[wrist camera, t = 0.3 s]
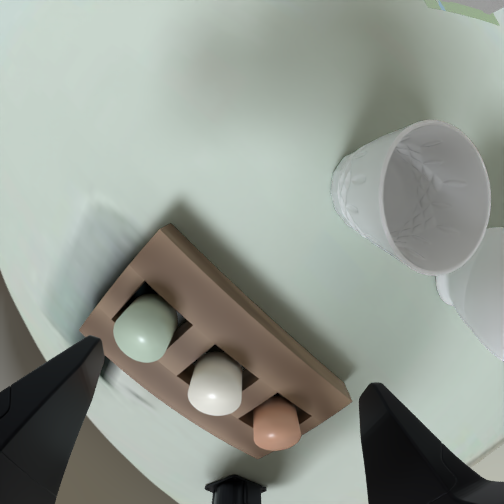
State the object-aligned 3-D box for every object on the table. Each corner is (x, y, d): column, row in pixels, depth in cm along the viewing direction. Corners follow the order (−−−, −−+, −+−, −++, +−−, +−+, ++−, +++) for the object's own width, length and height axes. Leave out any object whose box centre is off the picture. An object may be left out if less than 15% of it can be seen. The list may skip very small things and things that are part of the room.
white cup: (301, 184, 21) (345, 185, 11) (370, 123, 20) (443, 92, 10) (363, 258, 22) (428, 305, 13) (423, 197, 21) (505, 210, 11)
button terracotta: (272, 429, 24) (275, 455, 21) (244, 411, 24) (243, 438, 20) (304, 409, 24) (310, 435, 20) (276, 389, 23) (279, 416, 20)
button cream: (220, 395, 23) (216, 422, 20) (185, 369, 22) (177, 395, 19) (252, 371, 22) (252, 399, 19) (216, 343, 22) (211, 369, 18)
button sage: (158, 347, 22) (145, 371, 18) (122, 314, 21) (104, 334, 18) (188, 318, 21) (178, 341, 18) (149, 283, 21) (133, 301, 17)
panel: (257, 439, 27) (257, 459, 24) (93, 315, 23) (78, 330, 20) (344, 382, 25) (352, 401, 22) (171, 223, 22) (159, 229, 19)
